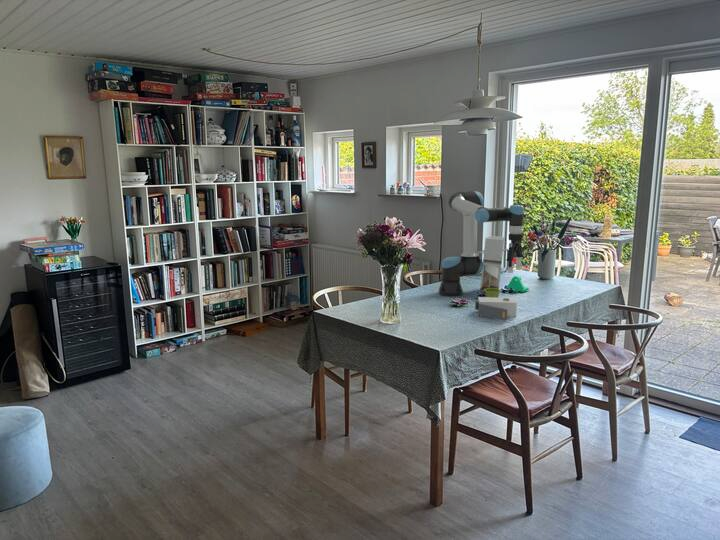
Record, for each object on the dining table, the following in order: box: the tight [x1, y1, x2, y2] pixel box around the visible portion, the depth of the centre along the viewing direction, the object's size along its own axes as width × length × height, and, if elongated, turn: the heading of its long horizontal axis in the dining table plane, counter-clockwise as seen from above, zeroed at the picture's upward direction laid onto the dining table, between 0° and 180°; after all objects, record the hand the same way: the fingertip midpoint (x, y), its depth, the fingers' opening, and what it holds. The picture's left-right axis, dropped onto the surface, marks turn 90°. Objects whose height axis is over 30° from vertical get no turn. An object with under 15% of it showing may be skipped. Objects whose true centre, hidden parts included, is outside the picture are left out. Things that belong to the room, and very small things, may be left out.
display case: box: [479, 235, 506, 293], centre depth 348 cm, size 11×11×35 cm
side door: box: [478, 304, 508, 321], centre depth 292 cm, size 17×2×6 cm, turn 46°
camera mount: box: [506, 275, 530, 293], centre depth 352 cm, size 12×8×10 cm, turn 43°
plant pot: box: [484, 288, 501, 298], centre depth 321 cm, size 9×9×9 cm
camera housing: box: [474, 296, 518, 318], centre depth 302 cm, size 22×10×9 cm, turn 81°
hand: (514, 270), depth 303 cm, fingers open, 13 cm apart
